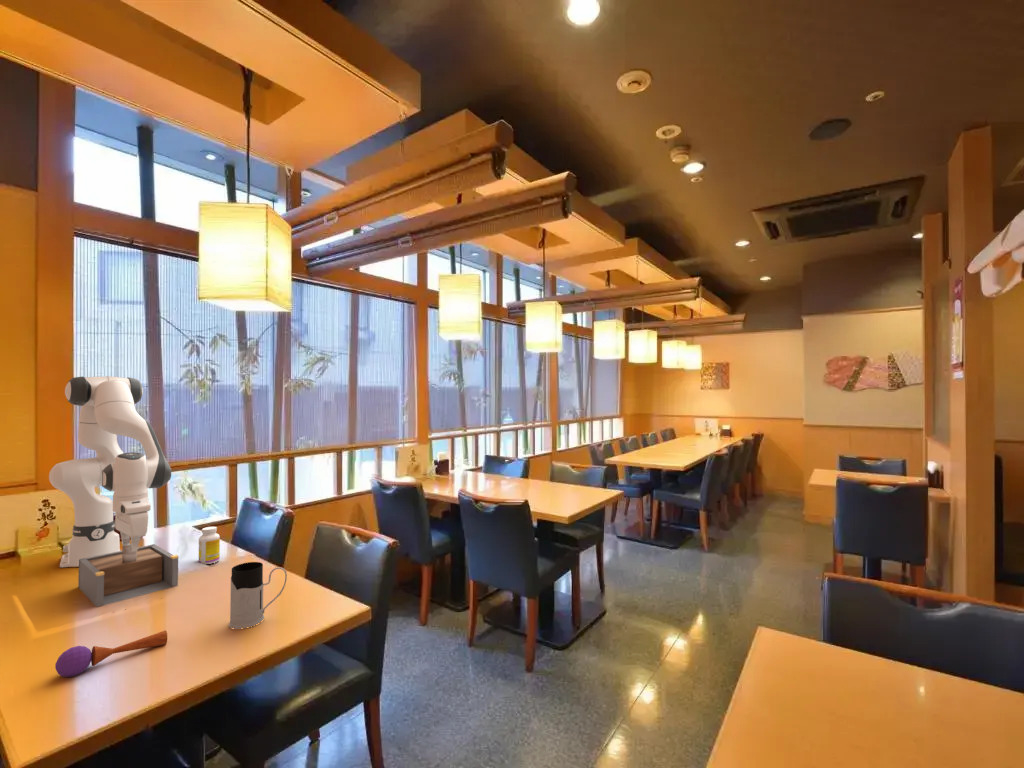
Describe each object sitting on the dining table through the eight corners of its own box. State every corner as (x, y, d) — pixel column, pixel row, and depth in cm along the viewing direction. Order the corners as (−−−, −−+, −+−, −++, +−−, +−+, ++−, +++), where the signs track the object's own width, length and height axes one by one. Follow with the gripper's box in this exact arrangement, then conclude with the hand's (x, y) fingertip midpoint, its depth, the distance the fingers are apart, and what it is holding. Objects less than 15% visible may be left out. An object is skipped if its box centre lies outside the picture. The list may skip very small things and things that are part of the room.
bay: (78, 591, 152) (78, 557, 152) (154, 572, 168) (154, 542, 168) (96, 611, 137) (97, 574, 138) (177, 589, 153) (178, 555, 153)
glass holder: (231, 617, 133) (232, 563, 133) (287, 609, 138) (288, 557, 138) (225, 632, 125) (225, 574, 125) (285, 622, 130) (285, 567, 130)
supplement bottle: (223, 560, 181) (224, 525, 181) (210, 566, 174) (211, 530, 175) (207, 559, 182) (207, 525, 182) (193, 565, 175) (194, 530, 175)
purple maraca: (170, 631, 117) (59, 660, 102) (166, 655, 117) (55, 686, 102) (163, 620, 121) (56, 645, 106) (160, 642, 121) (51, 671, 106)
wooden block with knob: (87, 585, 153) (88, 545, 153) (148, 571, 165) (149, 533, 166) (98, 596, 144) (99, 553, 144) (162, 580, 157) (162, 540, 157)
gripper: (109, 501, 157) (108, 544, 156) (127, 509, 144) (126, 555, 144) (133, 498, 162) (132, 539, 161) (152, 505, 149) (152, 550, 149)
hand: (130, 547), depth 152 cm, fingers open, 8 cm apart
